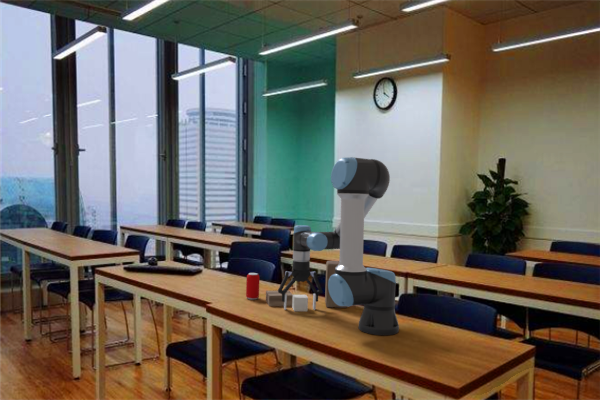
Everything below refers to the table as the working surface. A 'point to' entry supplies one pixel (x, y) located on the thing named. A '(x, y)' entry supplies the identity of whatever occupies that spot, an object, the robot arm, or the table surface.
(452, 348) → the table surface
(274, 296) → the walnut block
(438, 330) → the table surface
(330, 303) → the wooden block
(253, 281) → the beverage can
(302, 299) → the cream cube
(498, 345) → the table surface
